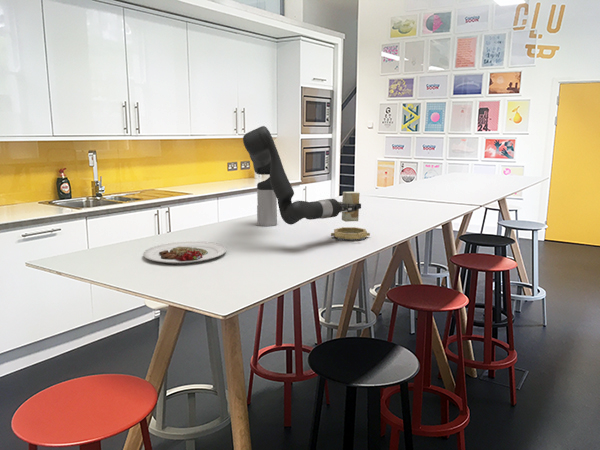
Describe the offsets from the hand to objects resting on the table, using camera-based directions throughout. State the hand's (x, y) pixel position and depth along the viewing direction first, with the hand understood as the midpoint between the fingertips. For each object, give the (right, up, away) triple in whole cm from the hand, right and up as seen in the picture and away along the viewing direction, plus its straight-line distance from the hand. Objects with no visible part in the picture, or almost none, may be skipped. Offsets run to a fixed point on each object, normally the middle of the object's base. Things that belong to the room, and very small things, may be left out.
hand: (354, 205), depth 214 cm
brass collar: (-2, -14, +1) cm, 14 cm away
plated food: (-66, -20, -26) cm, 73 cm away
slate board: (-2, -14, +1) cm, 14 cm away
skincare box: (-2, -7, 0) cm, 7 cm away
